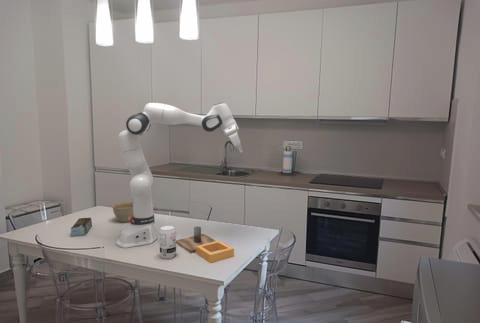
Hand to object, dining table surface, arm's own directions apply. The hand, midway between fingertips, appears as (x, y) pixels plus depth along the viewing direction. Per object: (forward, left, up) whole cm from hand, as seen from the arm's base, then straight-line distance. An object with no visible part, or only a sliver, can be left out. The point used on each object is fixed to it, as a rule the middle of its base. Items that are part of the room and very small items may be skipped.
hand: (241, 151), depth 196 cm
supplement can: (-47, 0, -51) cm, 69 cm away
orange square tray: (-27, -13, -51) cm, 59 cm away
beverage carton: (-74, +65, -51) cm, 111 cm away
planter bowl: (-45, +72, -51) cm, 99 cm away
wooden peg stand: (-27, +5, -51) cm, 58 cm away
